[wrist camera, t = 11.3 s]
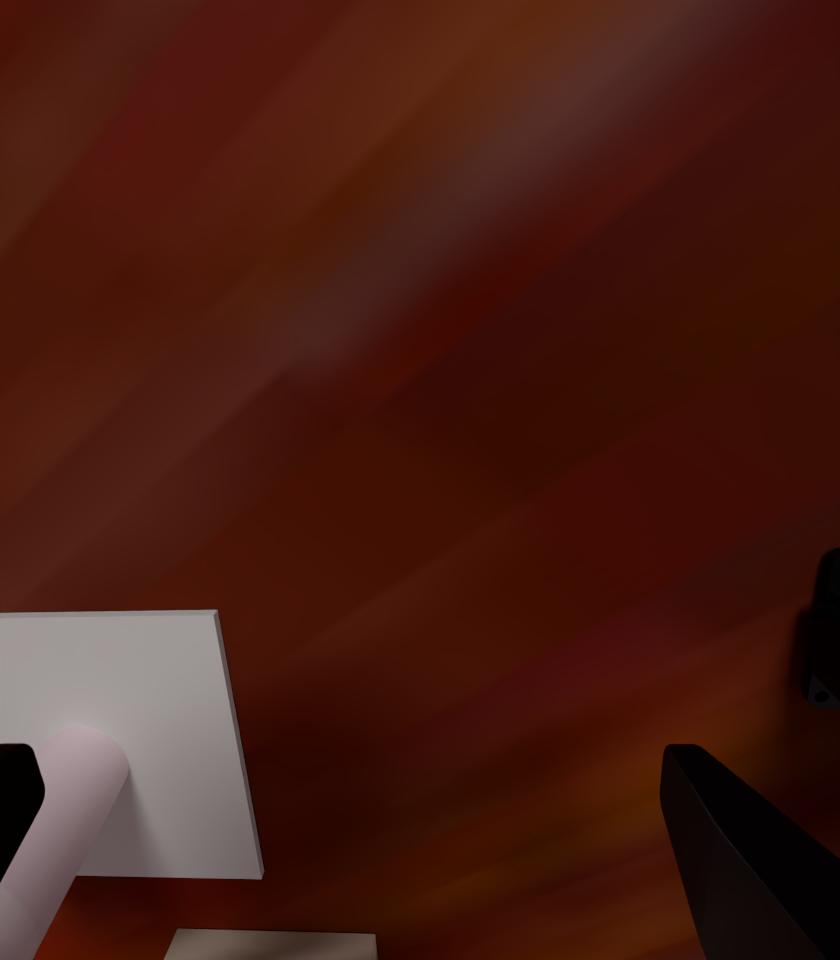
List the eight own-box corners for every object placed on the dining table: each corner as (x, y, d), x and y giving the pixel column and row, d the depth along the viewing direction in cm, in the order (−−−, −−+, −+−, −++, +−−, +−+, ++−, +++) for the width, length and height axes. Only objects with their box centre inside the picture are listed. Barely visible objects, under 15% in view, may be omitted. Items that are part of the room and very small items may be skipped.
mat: (217, 609, 22) (213, 615, 22) (264, 871, 26) (261, 879, 26) (-109, 614, 23) (-118, 619, 23) (-14, 865, 27) (-21, 873, 27)
